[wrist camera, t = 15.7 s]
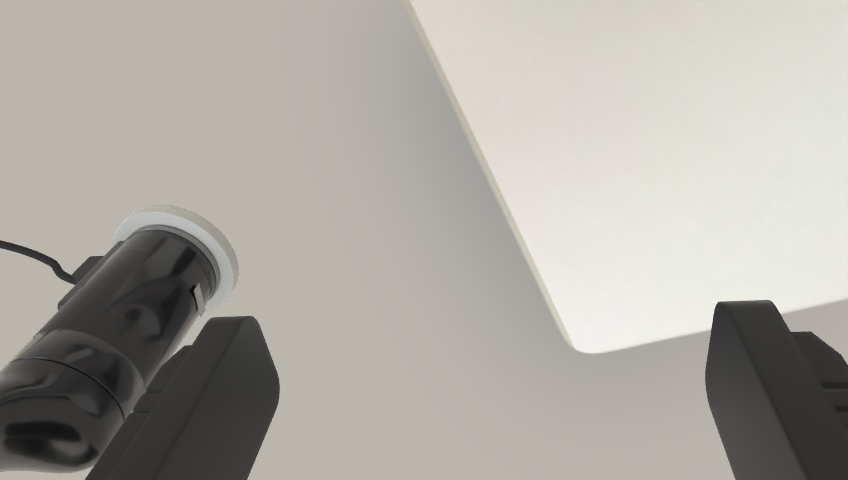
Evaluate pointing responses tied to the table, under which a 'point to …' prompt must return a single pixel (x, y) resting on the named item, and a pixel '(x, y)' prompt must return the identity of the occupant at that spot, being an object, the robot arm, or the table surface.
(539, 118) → the table surface
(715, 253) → the table surface
